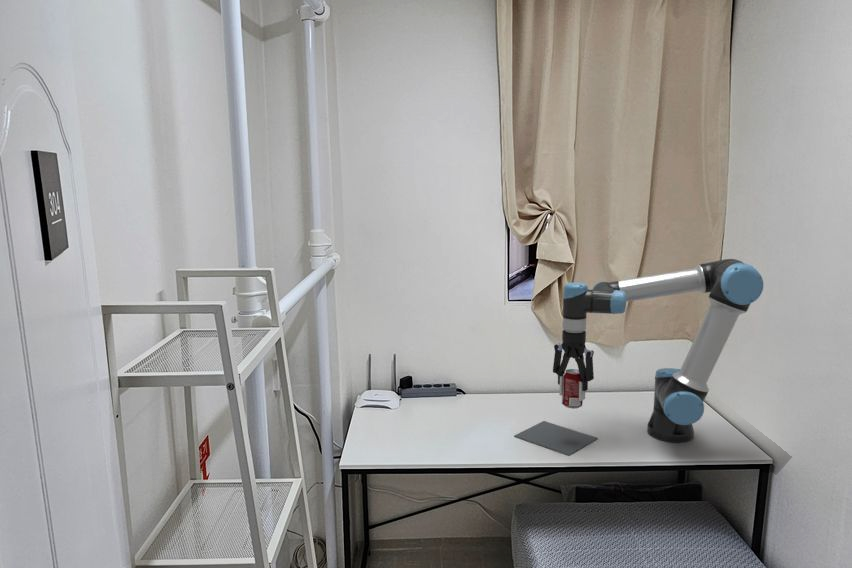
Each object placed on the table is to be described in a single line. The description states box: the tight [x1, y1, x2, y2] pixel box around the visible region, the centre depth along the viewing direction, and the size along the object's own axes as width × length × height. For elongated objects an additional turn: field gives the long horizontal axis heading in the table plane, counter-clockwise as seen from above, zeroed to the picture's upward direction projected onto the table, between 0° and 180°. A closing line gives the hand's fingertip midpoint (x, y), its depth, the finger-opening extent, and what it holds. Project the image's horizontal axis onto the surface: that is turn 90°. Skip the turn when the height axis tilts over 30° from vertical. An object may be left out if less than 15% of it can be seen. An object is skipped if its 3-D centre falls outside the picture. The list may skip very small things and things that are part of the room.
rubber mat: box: [513, 420, 599, 457], centre depth 216 cm, size 22×18×1 cm
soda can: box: [561, 368, 584, 410], centre depth 209 cm, size 7×7×12 cm
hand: (572, 396), depth 209 cm, fingers closed on soda can, 7 cm apart
